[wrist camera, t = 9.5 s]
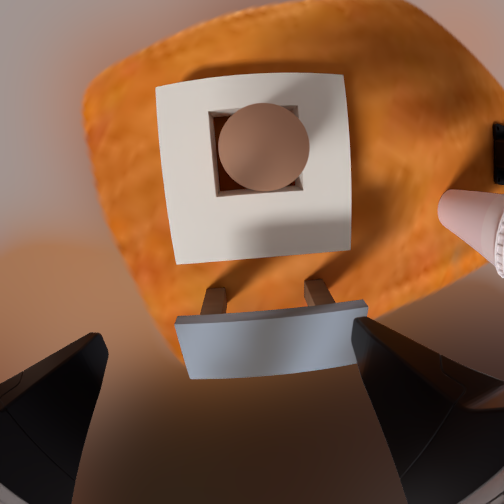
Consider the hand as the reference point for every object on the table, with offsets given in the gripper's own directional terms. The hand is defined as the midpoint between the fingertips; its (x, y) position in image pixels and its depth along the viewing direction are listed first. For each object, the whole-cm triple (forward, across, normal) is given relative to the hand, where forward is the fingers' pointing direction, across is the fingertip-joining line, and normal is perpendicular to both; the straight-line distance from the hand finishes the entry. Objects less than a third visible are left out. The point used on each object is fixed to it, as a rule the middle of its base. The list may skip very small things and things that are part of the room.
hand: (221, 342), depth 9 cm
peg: (+13, -2, -6) cm, 14 cm away
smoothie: (+13, -20, -1) cm, 24 cm away
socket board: (+13, -2, -6) cm, 14 cm away
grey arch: (+13, -2, +4) cm, 14 cm away
